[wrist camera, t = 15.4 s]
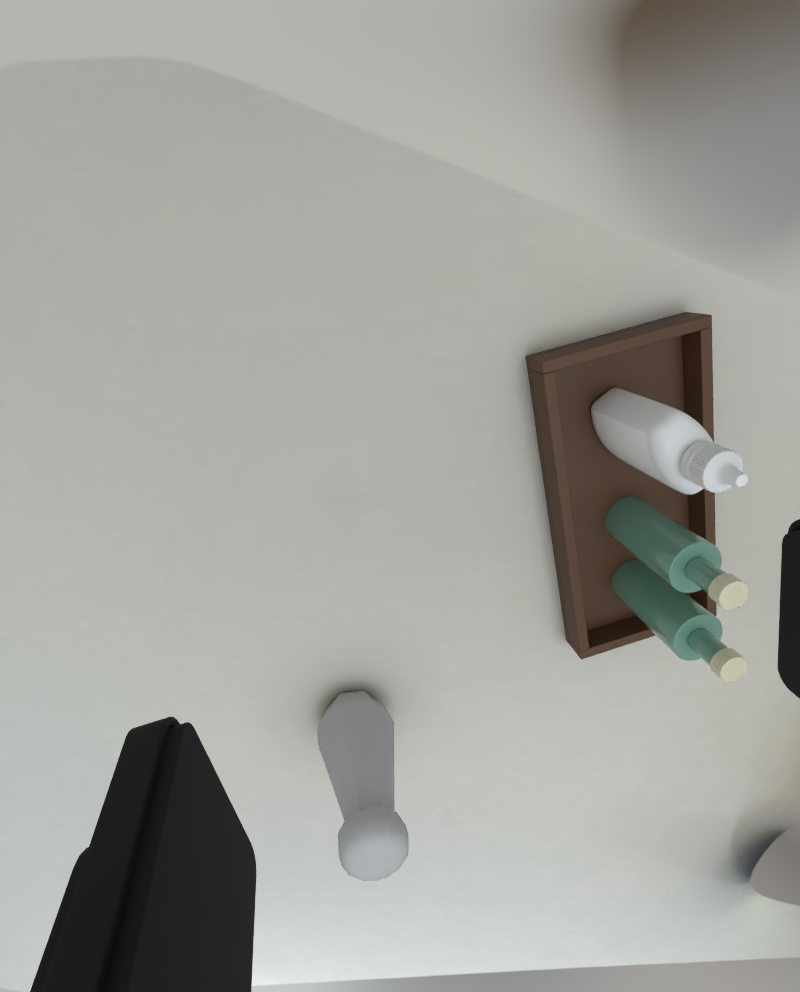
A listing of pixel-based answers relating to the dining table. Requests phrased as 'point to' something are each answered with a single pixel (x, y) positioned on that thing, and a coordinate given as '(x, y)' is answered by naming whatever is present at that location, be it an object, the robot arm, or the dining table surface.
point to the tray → (614, 462)
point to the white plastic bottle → (664, 443)
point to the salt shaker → (363, 785)
